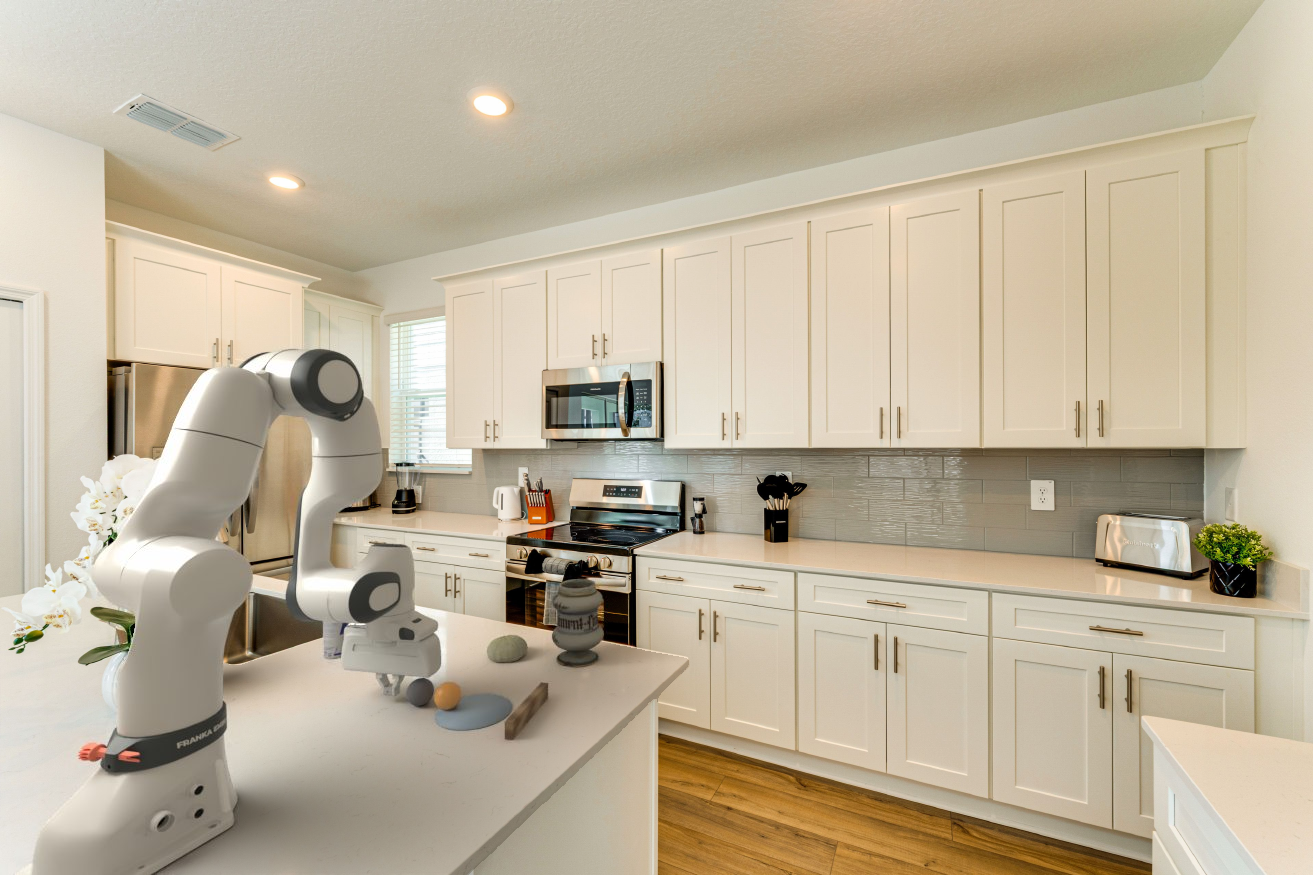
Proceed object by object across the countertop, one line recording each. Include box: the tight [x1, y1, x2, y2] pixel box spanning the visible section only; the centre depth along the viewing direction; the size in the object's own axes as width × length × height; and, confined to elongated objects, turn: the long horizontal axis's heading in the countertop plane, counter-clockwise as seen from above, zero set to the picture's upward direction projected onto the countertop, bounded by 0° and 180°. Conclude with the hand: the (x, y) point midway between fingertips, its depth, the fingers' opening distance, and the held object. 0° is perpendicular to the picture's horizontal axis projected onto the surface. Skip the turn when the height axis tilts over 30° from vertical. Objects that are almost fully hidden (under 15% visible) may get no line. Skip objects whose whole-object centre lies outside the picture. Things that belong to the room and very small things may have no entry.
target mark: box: [434, 693, 513, 731], centre depth 108 cm, size 14×14×1 cm
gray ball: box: [405, 677, 435, 707], centre depth 110 cm, size 5×5×5 cm
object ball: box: [433, 681, 463, 710], centre depth 109 cm, size 5×5×5 cm
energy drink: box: [322, 621, 350, 659], centre depth 136 cm, size 5×5×12 cm
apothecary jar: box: [551, 578, 605, 668], centre depth 133 cm, size 12×12×18 cm
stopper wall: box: [504, 681, 549, 741], centre depth 105 cm, size 16×2×3 cm, turn 169°
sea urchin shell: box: [486, 634, 528, 664], centre depth 134 cm, size 9×8×8 cm
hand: (390, 694), depth 111 cm, fingers closed
